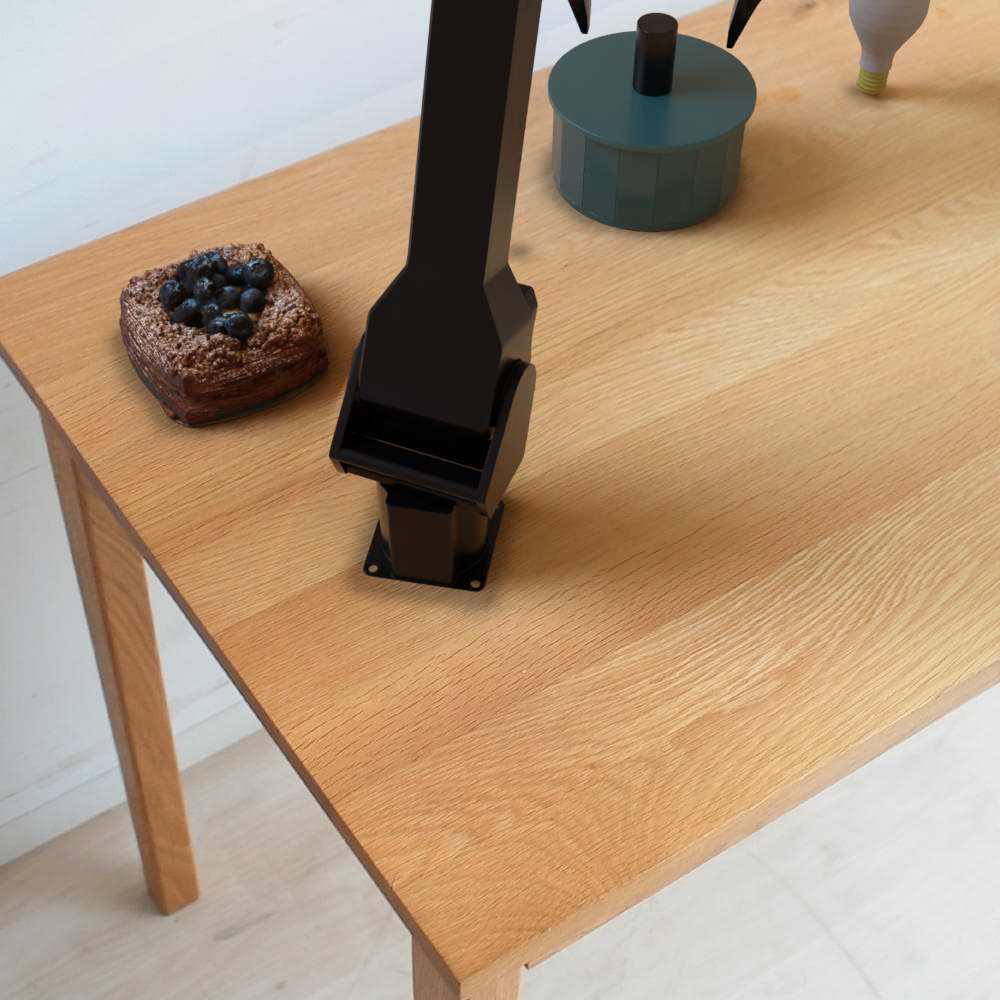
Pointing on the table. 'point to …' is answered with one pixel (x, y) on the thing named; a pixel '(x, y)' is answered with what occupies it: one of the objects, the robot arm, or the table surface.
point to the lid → (652, 89)
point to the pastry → (222, 334)
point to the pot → (644, 181)
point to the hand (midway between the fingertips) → (657, 37)
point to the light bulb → (883, 35)
